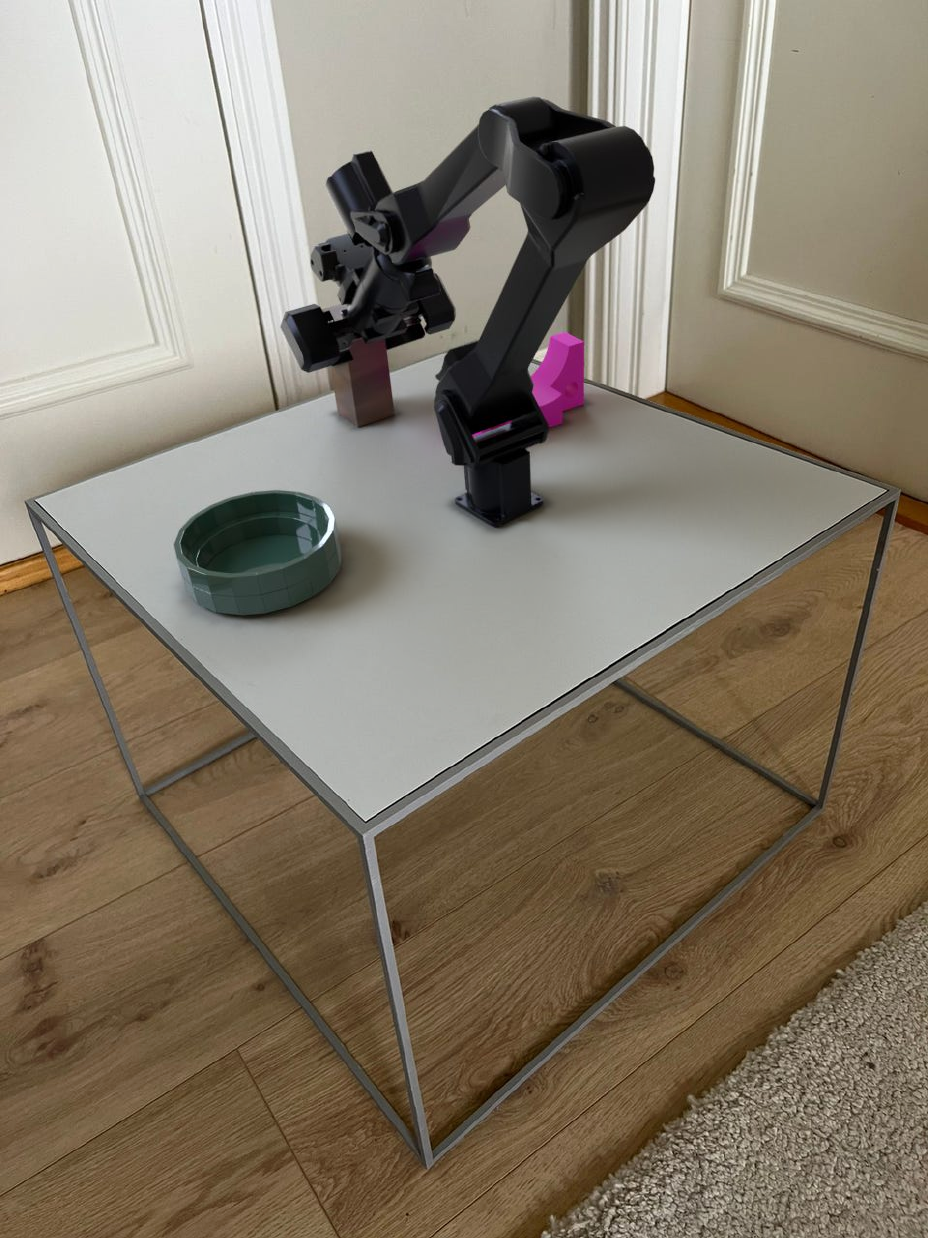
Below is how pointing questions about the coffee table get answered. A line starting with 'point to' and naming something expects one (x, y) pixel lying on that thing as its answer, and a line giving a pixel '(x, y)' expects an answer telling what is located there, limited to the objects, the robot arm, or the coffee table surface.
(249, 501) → the teal shallow bowl
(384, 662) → the coffee table surface
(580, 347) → the toy block
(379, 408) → the walnut block
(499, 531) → the coffee table surface
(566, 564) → the coffee table surface
